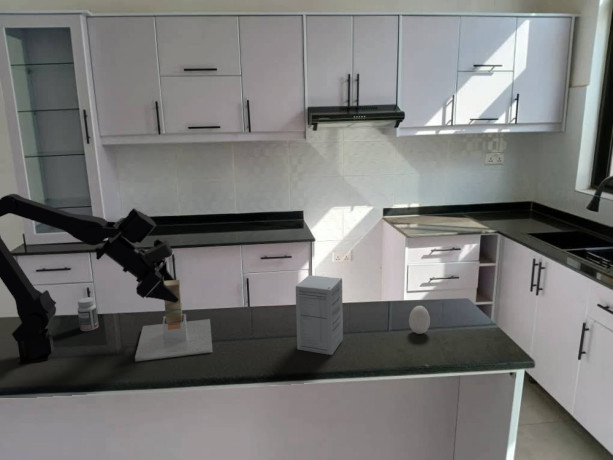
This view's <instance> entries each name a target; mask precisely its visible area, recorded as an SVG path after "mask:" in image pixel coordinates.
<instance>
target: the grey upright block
mask: <svg viewBox="0 0 613 460" xmlns="http://www.w3.org/2000/svg"><path fill="white" fill-rule="evenodd" d="M295 306H296V307H295V312H296V313H295V315H296V347H297V350H300V351H304V352H305V351H306V352H310V353H319V354H322V355H323V354H324V355H330V356H332V355H333V354H334V352H335V351H337V348H338V347H339V345H340V344H341V343H342V341H344V331H343V330H344V329H343V325H344V324H343V323H344V322H343V316H344V315H343V278H339V277H329V276H323V275H310V274H309V275H308V276H306V277H305V278H303V280H301V281H300V282H298V283H297V285H295Z"/></svg>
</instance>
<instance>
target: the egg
mask: <svg viewBox="0 0 613 460" xmlns="http://www.w3.org/2000/svg"><path fill="white" fill-rule="evenodd" d="M408 320H409V321H408V324H409V327H410V329H411V330H412V331H413V332H414V334H415V333H416V334H418V335H421V334H425V332H427V331H428V329H429V327H430V324H431V317H430V313H429V312H428V310H427V308H425V307H424V306H422V305H417V306H414V307H413V309H412V310H411V312H410V314H409V317H408Z"/></svg>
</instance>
